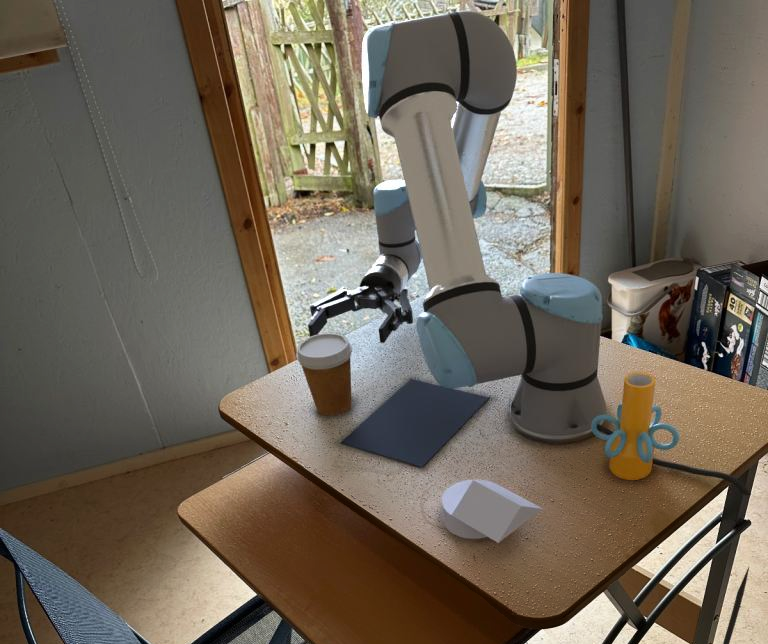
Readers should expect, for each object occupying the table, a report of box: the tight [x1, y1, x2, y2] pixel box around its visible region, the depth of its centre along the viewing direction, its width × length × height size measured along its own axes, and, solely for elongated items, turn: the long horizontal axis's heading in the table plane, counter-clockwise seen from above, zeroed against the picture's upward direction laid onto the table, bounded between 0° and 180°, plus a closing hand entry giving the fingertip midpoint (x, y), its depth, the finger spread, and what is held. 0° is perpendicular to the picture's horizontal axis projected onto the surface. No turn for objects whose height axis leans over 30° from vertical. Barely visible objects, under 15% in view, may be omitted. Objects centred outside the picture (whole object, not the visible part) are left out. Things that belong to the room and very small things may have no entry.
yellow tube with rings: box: [591, 371, 680, 481], centre depth 109 cm, size 12×10×15 cm
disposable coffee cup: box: [295, 332, 353, 416], centre depth 133 cm, size 10×10×12 cm
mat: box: [339, 378, 490, 469], centre depth 130 cm, size 16×22×1 cm
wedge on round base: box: [441, 478, 544, 544], centre depth 106 cm, size 9×7×13 cm
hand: (345, 334), depth 138 cm, fingers open, 13 cm apart
